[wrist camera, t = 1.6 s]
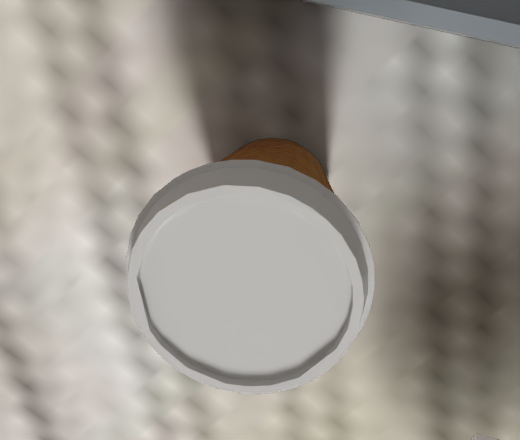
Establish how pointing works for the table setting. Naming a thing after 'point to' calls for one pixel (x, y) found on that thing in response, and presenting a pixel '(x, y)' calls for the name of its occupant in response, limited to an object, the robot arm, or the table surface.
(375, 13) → the tray
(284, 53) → the table surface
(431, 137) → the table surface
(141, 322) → the disposable coffee cup
